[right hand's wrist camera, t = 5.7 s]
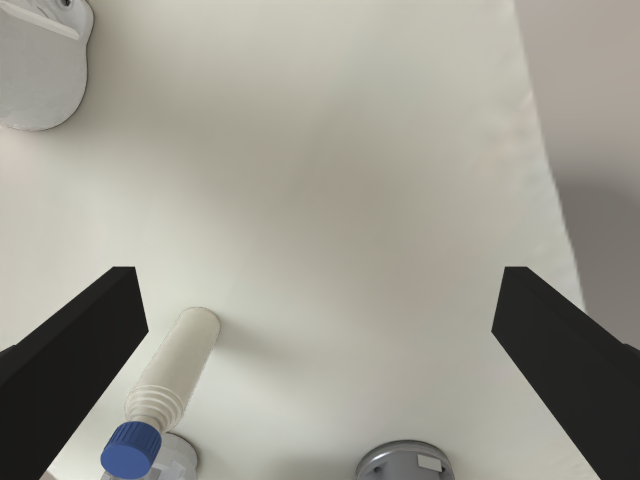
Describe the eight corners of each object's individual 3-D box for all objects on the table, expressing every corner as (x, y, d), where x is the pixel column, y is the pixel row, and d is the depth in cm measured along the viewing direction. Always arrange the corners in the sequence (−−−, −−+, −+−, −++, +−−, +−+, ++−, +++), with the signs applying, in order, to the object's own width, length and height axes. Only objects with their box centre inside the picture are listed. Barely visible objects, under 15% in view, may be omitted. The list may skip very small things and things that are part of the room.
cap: (109, 421, 30) (93, 446, 28) (156, 419, 30) (144, 443, 28) (122, 454, 32) (107, 481, 30) (167, 453, 32) (155, 479, 30)
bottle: (174, 308, 46) (84, 435, 28) (216, 306, 45) (153, 432, 28) (182, 343, 48) (103, 482, 30) (223, 341, 47) (168, 480, 30)
